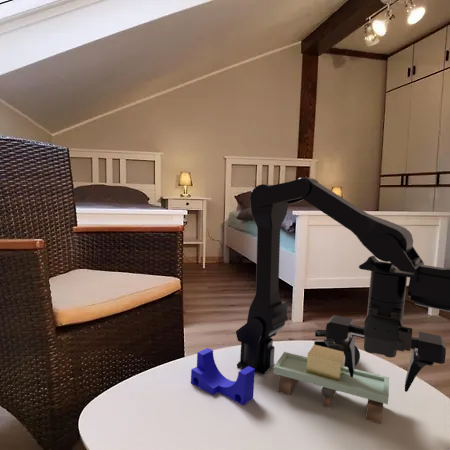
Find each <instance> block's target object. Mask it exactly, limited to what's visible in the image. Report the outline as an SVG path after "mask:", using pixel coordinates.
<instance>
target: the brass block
mask: <svg viewBox="0 0 450 450" xmlns="http://www.w3.org/2000/svg"><path fill="white" fill-rule="evenodd" d="M344 365H345V355H344V352H342V351H338V350H334V349H330V348H326V347H322V346H318V345H314V344H313V345H312V347H311V349H310V350H309V351H308V353H307V369H306V373H308V374H312V375H316V376H320V377H324V378H327V379H331V380H335V381H339V382H340V380H341V378H342V375H343V373H344Z"/></svg>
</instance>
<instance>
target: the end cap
mask: <svg viewBox="0 0 450 450" xmlns="http://www.w3.org/2000/svg"><path fill="white" fill-rule="evenodd" d="M325 334H326V329H315V331H314V337H317V338H318V337H319V338H320V337H321V338H325V339H323V340H314V343H313V346H314V345H318V346H322V347H326V348H330V349H334V350H338V351H342V352H343V350H342V348H341V347H340V346H339V345H338V344H335V343H334V341H333V339H328V338H327V337H325ZM360 359H361V352H360V351H359V349H358V347H357V346H356V345H355V367H356V366H358V364H359V362H360ZM344 366H345V367H348V365H347V361H346V358H345V365H344Z"/></svg>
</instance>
